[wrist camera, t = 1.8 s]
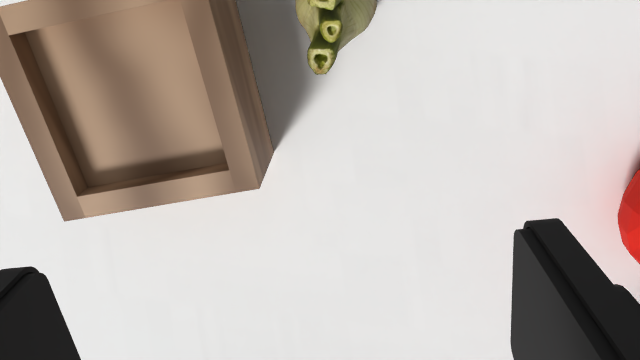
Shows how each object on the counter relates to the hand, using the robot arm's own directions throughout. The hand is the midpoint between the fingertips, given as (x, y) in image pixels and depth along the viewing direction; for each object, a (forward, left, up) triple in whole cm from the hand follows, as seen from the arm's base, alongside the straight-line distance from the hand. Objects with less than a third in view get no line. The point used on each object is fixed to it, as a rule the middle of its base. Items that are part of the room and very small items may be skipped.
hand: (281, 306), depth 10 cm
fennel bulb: (-1, -4, -27) cm, 27 cm away
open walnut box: (+12, -1, -26) cm, 29 cm away
